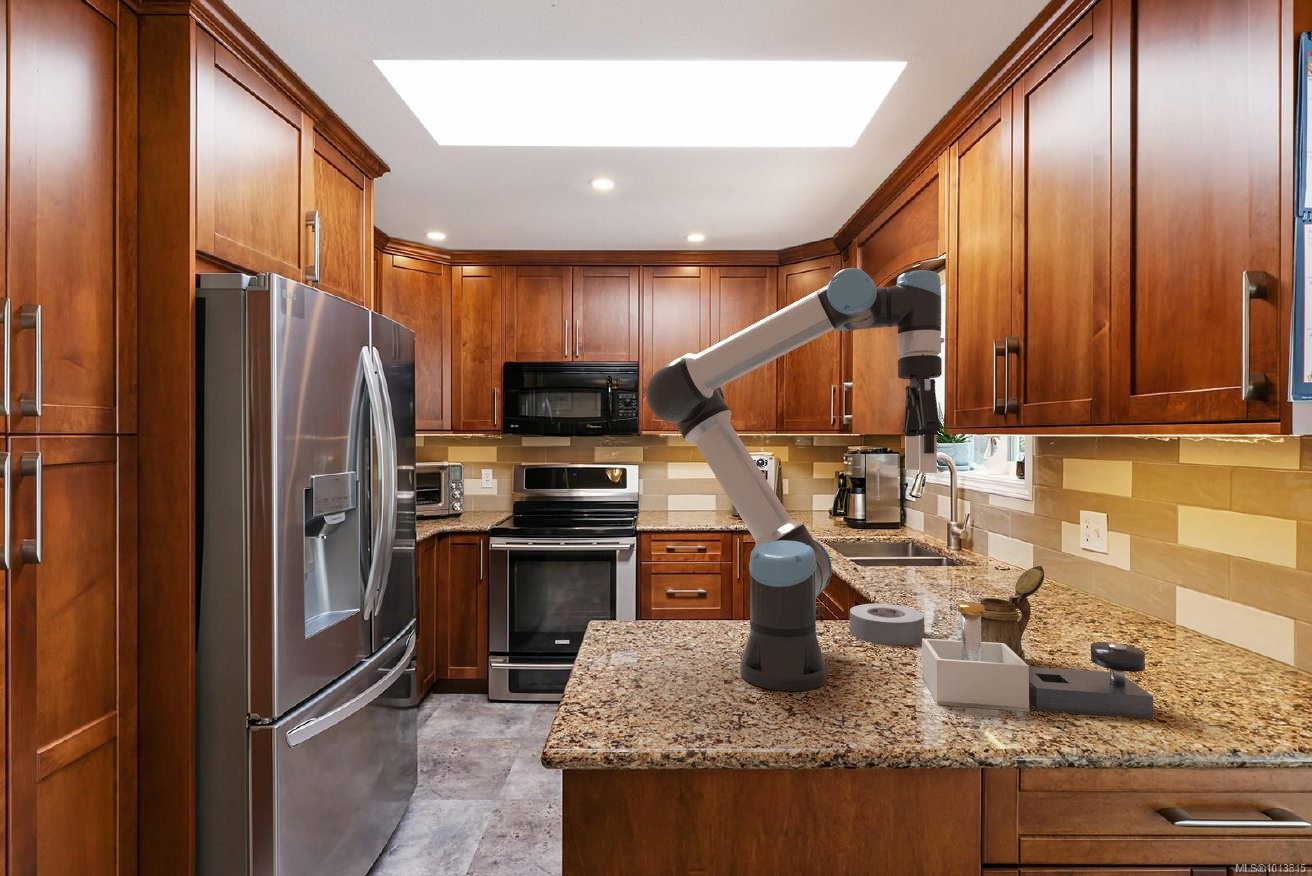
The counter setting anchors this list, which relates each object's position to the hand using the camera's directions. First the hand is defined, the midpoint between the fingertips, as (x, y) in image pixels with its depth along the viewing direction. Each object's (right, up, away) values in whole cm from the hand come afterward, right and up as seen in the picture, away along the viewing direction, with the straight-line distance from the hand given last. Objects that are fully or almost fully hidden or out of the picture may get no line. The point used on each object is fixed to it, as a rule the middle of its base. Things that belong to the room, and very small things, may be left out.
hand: (920, 471), depth 116 cm
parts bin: (+4, -37, -11) cm, 39 cm away
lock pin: (+4, -36, -11) cm, 38 cm away
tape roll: (+2, -37, +22) cm, 43 cm away
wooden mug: (+20, -37, +6) cm, 42 cm away
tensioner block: (+19, -37, -15) cm, 44 cm away
